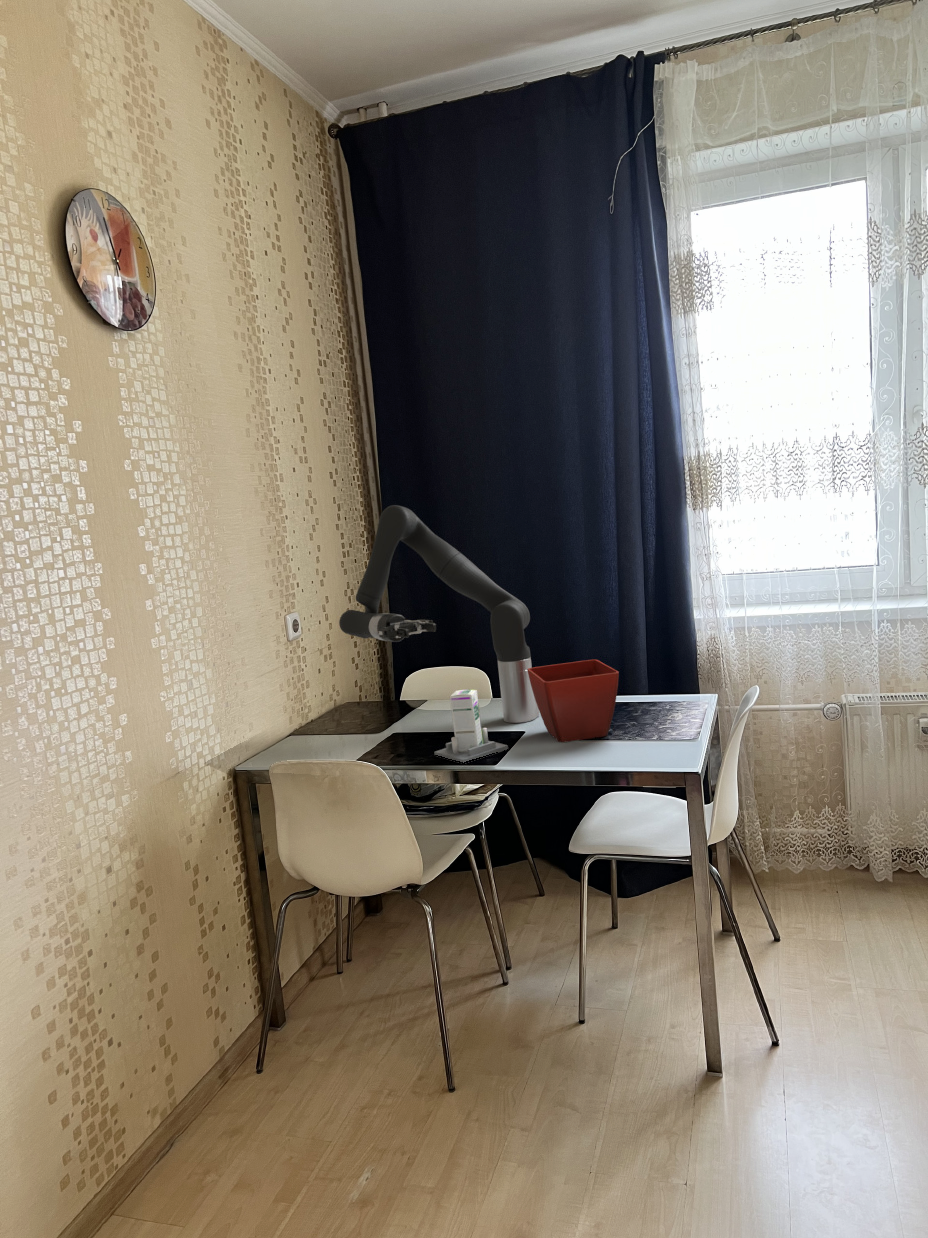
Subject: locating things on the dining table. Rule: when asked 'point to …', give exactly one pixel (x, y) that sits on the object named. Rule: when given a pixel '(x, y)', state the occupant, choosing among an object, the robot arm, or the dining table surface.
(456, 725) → the syrup box
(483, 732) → the pegged rail plate
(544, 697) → the plant pot
